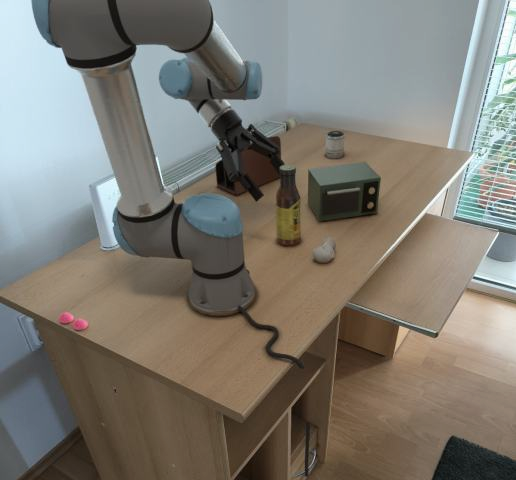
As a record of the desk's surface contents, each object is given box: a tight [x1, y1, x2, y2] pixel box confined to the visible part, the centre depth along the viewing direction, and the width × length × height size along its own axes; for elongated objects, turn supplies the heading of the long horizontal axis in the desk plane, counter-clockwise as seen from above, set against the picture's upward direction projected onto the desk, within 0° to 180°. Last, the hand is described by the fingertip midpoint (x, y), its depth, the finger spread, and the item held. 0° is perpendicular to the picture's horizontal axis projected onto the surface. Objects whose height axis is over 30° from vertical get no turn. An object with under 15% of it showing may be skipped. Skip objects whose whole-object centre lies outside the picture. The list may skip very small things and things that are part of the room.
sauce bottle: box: [275, 164, 301, 247], centre depth 129 cm, size 7×6×20 cm
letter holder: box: [214, 135, 282, 196], centre depth 162 cm, size 10×20×14 cm, turn 131°
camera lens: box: [325, 130, 346, 159], centre depth 177 cm, size 6×6×8 cm
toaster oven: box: [307, 161, 382, 223], centre depth 143 cm, size 14×17×11 cm
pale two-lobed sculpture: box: [312, 237, 337, 264], centre depth 127 cm, size 4×8×5 cm
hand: (274, 188), depth 129 cm, fingers open, 13 cm apart
